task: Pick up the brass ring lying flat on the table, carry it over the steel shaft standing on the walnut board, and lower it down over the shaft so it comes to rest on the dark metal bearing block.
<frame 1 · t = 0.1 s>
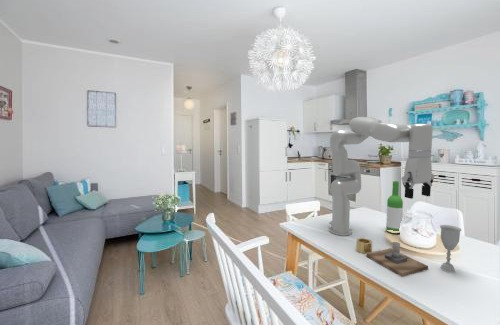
hand: (417, 196, 100), 31 cm above the table, tool pointing down, fingers open, 9 cm apart
chalice: (447, 269, 102), on the table
ring: (363, 250, 120), on the table
wine bottle: (393, 232, 143), on the table
shaft stand: (395, 262, 108), on the table
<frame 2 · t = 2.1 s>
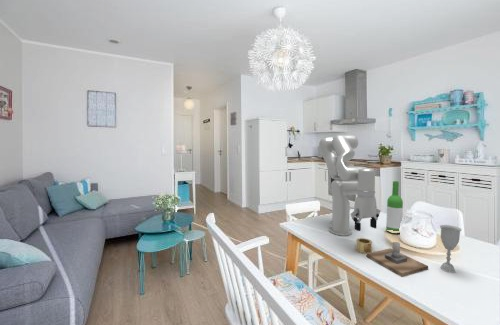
hand: (365, 228, 118), 11 cm above the table, tool pointing down, fingers open, 9 cm apart
nothing on the table moved.
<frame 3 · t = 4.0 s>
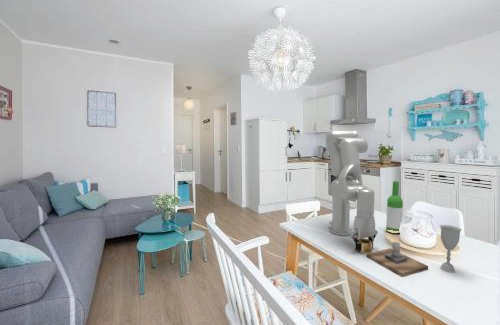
hand: (364, 249, 120), 1 cm above the table, tool pointing down, fingers closed on ring, 6 cm apart
ring: (363, 250, 120), on the table, touching gripper
everything else where it was.
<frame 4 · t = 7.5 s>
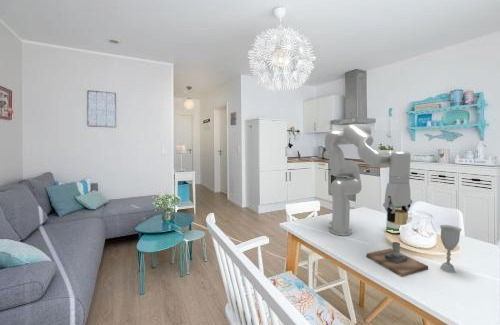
hand: (397, 220, 107), 19 cm above the table, tool pointing down, fingers closed on ring, 6 cm apart
ring: (397, 222, 107), point 19 cm above the table, touching gripper
everything else where it was.
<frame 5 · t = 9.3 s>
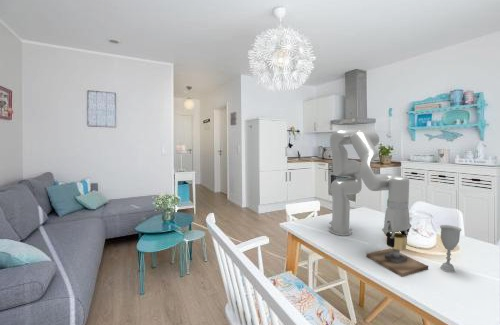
hand: (396, 244, 107), 8 cm above the table, tool pointing down, fingers closed on ring, 6 cm apart
ring: (396, 246, 107), point 8 cm above the table, touching gripper
everything else where it was.
when the fingers open (5 cm above the table, at t = 11.0 s): ring drops 1 cm, resting on shaft stand.
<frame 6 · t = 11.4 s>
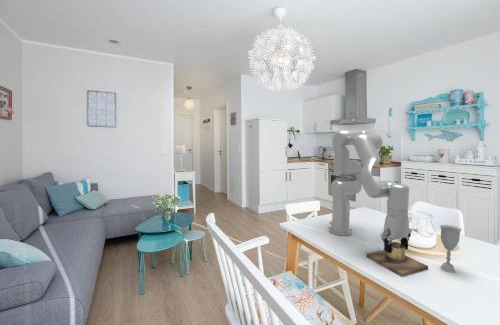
hand: (396, 250, 108), 6 cm above the table, tool pointing down, fingers open, 9 cm apart
ring: (395, 256, 108), point 3 cm above the table, touching shaft stand
everything else where it was.
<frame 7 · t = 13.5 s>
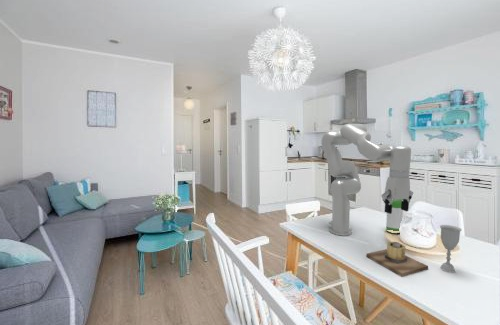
hand: (396, 211, 110), 22 cm above the table, tool pointing down, fingers open, 9 cm apart
nothing on the table moved.
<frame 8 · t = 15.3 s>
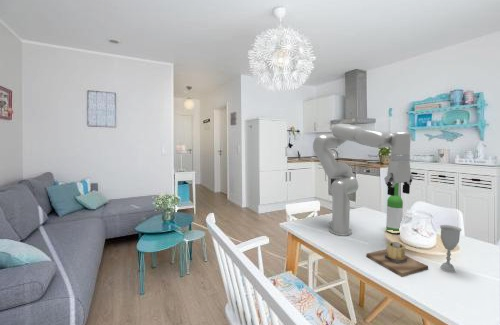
hand: (398, 194, 117), 28 cm above the table, tool pointing down, fingers open, 9 cm apart
nothing on the table moved.
at the end: ring 0.0 cm off-centre on the shaft stand, point 3.0 cm above the shaft stand's base; ring tilted 0°; the gripper is holding nothing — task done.
